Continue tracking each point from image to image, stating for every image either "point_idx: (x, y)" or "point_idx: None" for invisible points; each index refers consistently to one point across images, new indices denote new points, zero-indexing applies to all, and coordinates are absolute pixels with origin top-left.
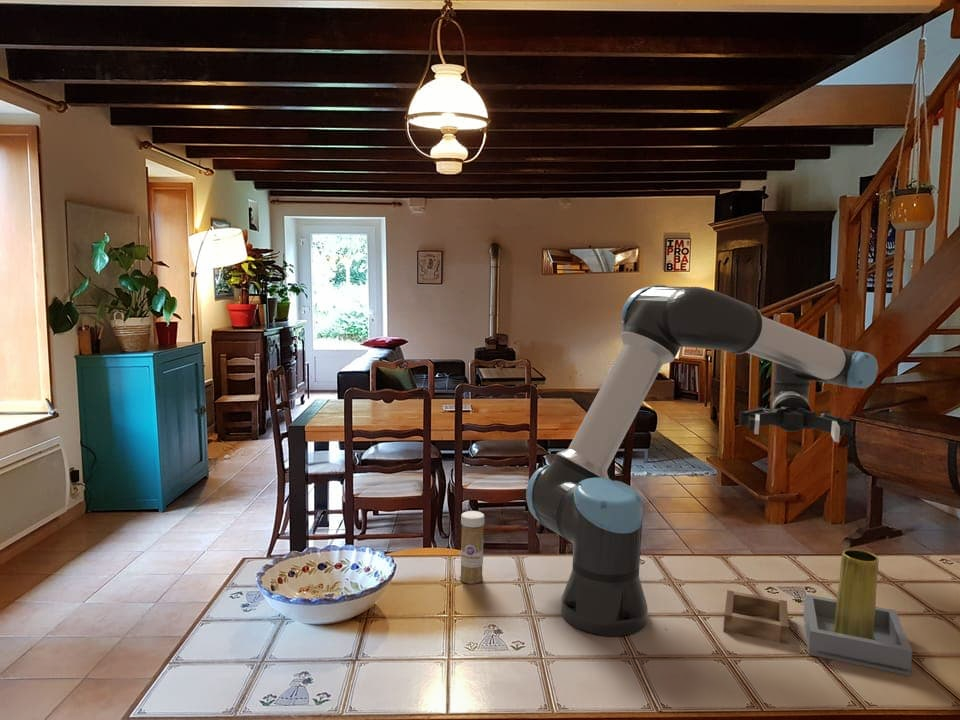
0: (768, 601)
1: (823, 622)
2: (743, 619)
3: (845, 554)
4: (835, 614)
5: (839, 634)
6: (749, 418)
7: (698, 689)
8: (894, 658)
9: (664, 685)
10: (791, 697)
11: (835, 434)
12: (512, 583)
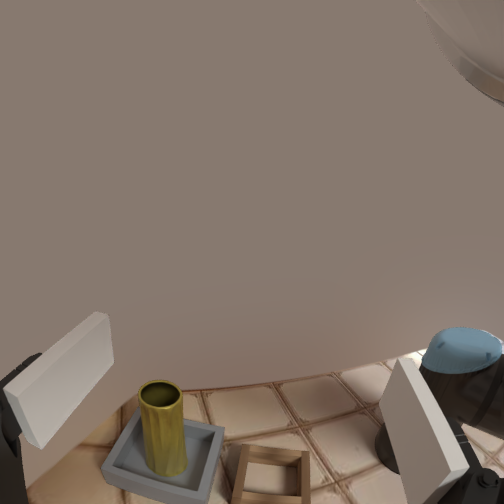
0: (256, 493)
1: (189, 486)
2: (288, 450)
3: (180, 394)
4: (183, 458)
5: (196, 425)
6: (465, 439)
7: (314, 391)
8: None
9: (336, 389)
10: (251, 395)
11: (110, 338)
12: (495, 451)
